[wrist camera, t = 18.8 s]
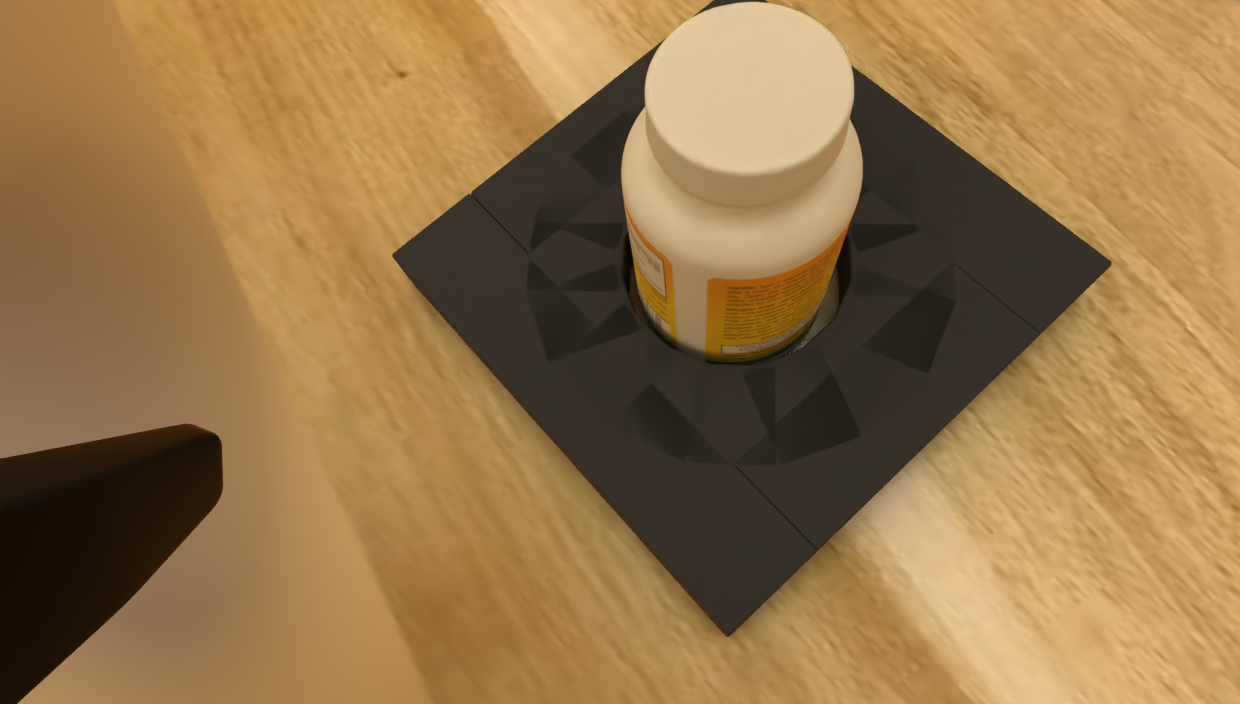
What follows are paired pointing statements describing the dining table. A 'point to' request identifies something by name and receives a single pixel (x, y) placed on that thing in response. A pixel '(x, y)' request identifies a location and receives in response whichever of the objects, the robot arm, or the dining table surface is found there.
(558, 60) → the dining table surface
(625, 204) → the supplement bottle
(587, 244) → the socket pad
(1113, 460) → the dining table surface
